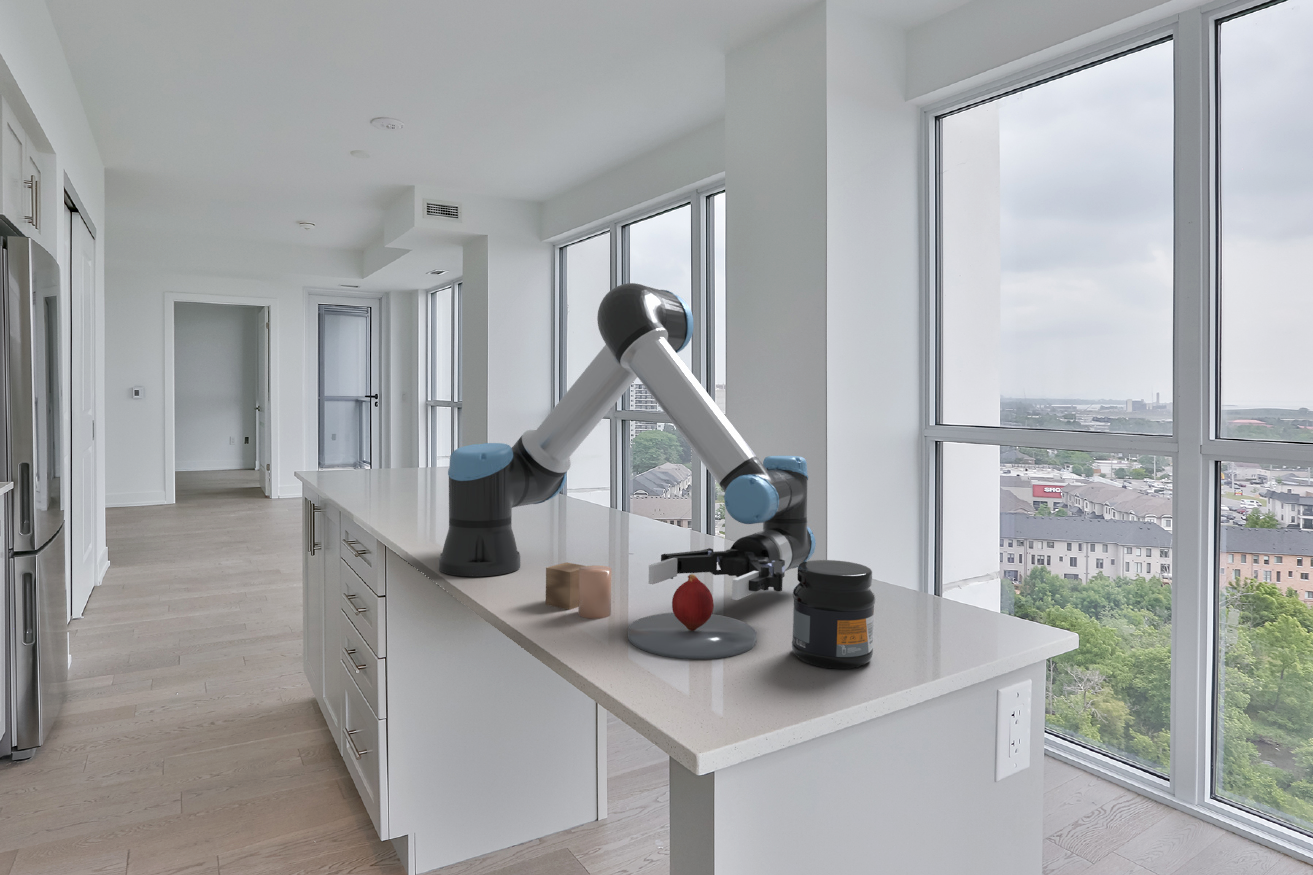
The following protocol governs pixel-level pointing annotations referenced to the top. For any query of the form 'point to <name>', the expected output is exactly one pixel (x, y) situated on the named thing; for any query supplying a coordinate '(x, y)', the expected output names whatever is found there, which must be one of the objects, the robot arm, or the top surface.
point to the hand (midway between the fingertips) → (691, 582)
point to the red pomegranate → (692, 603)
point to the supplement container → (833, 614)
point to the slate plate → (692, 637)
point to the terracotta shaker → (594, 592)
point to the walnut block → (563, 585)
